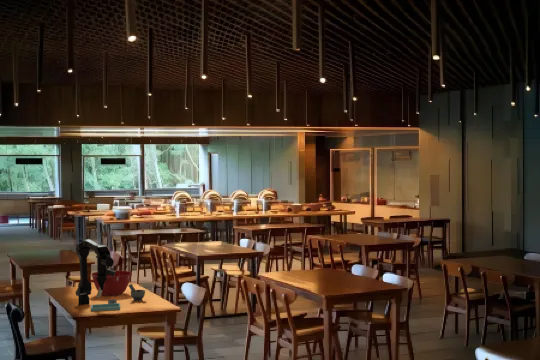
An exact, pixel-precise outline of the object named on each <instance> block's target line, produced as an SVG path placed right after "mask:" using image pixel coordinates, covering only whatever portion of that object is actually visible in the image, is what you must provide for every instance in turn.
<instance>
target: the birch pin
mask: <svg viewBox="0 0 540 360" xmlns="http://www.w3.org/2000/svg"><path fill="white" fill-rule="evenodd" d="M104 285H105V284H104ZM101 293H102V290H101V288H100V287H99V290H98V291H97V293H96V295H95V296H96V298H98V299H99V298H101V296H102V294H101Z"/></svg>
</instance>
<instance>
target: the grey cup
mask: <svg viewBox="0 0 540 360" xmlns="http://www.w3.org/2000/svg"><path fill="white" fill-rule="evenodd" d="M114 303H118V300H117V299H111V298H110V299H107V304H114Z"/></svg>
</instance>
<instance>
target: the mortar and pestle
mask: <svg viewBox="0 0 540 360" xmlns="http://www.w3.org/2000/svg"><path fill="white" fill-rule="evenodd" d="M128 288H129V289H130V297H131V299H133V301H134V302H143V298H144V297H145V295H146V290H145V289H136V288H135V287H134V286H133V284H132V283H129V284H128Z"/></svg>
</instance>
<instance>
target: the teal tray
mask: <svg viewBox="0 0 540 360" xmlns="http://www.w3.org/2000/svg"><path fill="white" fill-rule="evenodd" d="M105 311H108V312H109V311H121V303H120V302H117V303H114V304H108V303H98V304H97V303H96V304H91V306H90V312H105Z"/></svg>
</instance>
